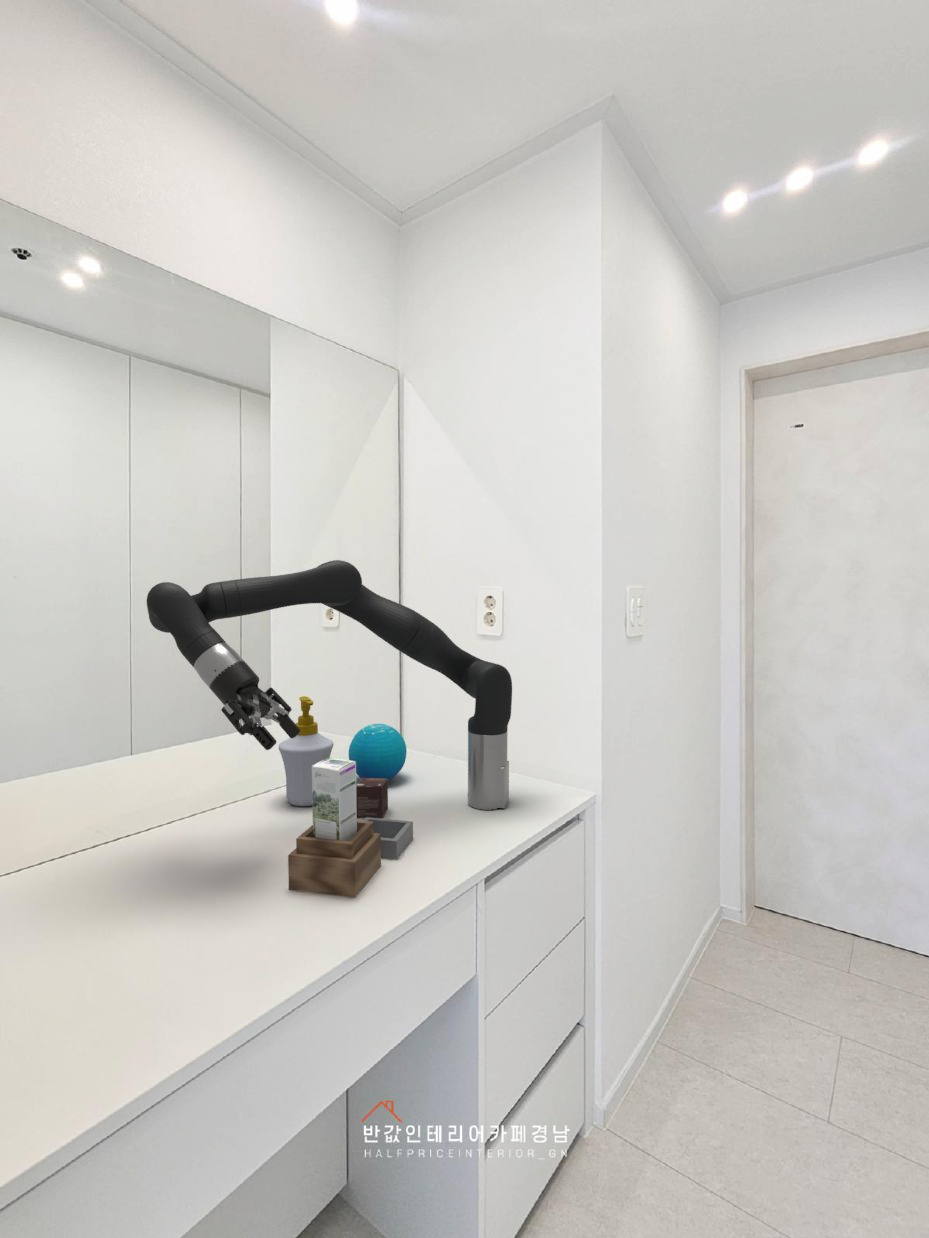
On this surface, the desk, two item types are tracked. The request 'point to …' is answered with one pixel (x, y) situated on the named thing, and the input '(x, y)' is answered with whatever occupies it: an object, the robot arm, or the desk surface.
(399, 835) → the charcoal collar
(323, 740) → the soap bottle
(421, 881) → the desk surface
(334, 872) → the walnut raised dock
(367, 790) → the box
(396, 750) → the decorative orb
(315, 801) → the syrup box
